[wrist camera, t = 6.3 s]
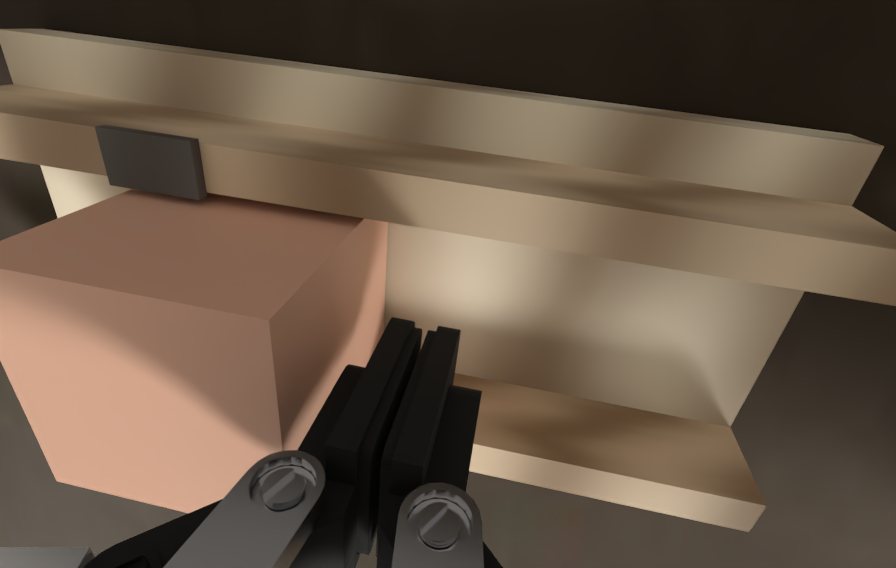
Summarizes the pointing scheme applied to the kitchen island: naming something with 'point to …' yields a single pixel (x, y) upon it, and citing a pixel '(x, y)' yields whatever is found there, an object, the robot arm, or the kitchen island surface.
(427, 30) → the kitchen island surface
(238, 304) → the block
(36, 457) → the kitchen island surface
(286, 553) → the robot arm
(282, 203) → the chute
